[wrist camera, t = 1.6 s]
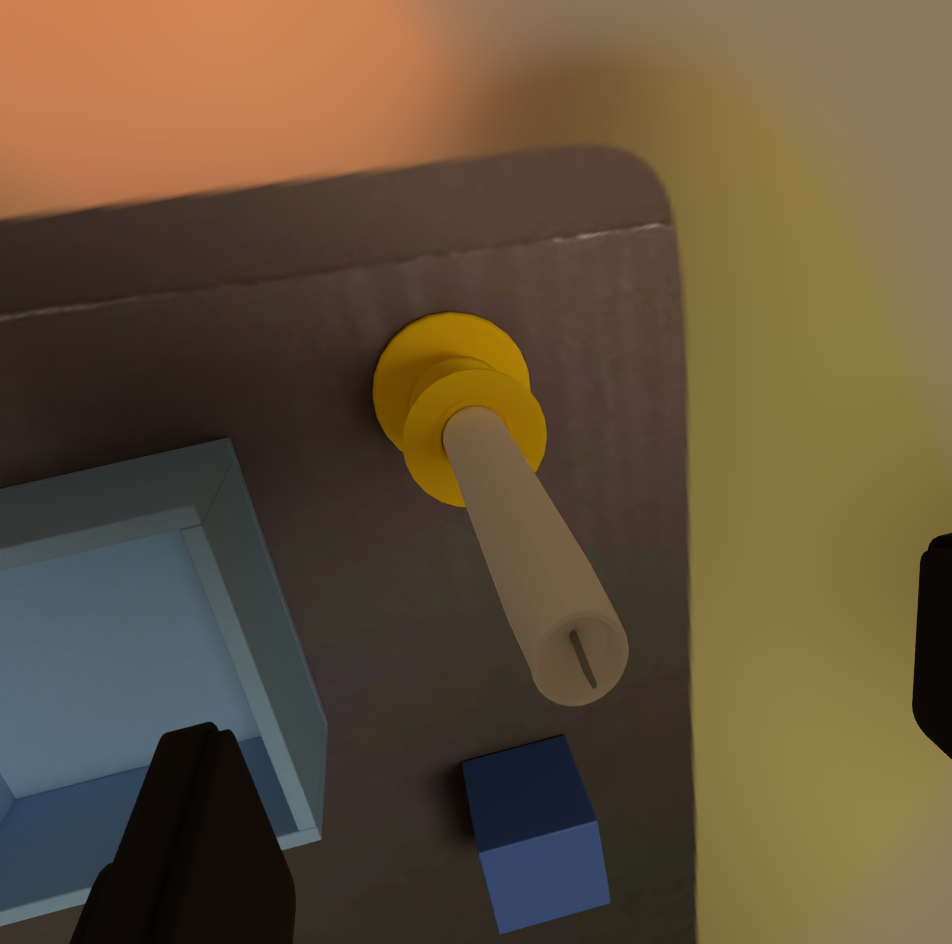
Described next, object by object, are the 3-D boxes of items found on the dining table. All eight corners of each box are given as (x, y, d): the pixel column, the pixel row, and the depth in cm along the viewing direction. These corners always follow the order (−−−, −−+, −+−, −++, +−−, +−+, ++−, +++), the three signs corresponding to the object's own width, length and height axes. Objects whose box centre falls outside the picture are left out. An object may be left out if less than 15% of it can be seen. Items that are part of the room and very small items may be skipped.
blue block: (461, 761, 29) (477, 854, 25) (564, 734, 30) (597, 821, 26) (480, 837, 31) (499, 935, 27) (578, 810, 32) (611, 903, 27)
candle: (417, 281, 22) (526, 435, 8) (555, 356, 24) (855, 599, 9) (345, 423, 23) (325, 779, 9) (480, 486, 25) (644, 873, 11)
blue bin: (-157, 523, 22) (-310, 620, 17) (230, 436, 23) (194, 504, 18) (12, 804, 27) (-68, 945, 22) (328, 722, 28) (322, 840, 23)
